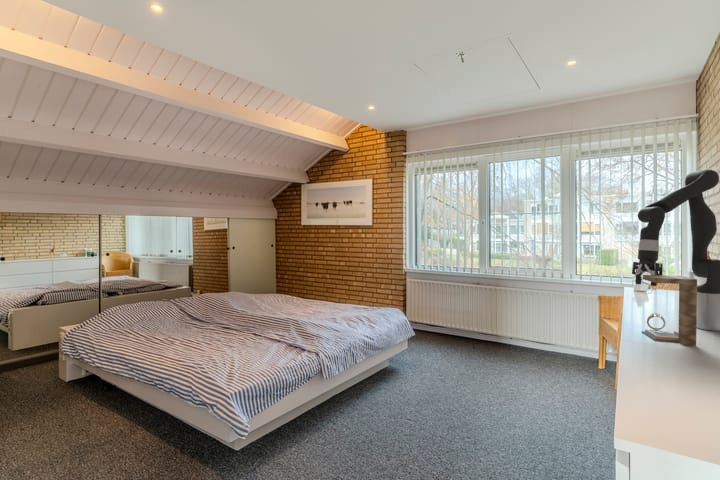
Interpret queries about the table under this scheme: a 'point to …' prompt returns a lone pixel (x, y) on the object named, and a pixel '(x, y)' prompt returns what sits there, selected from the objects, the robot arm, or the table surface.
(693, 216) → the robot arm
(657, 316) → the ring
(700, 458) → the table surface
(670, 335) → the seat
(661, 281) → the shelf
